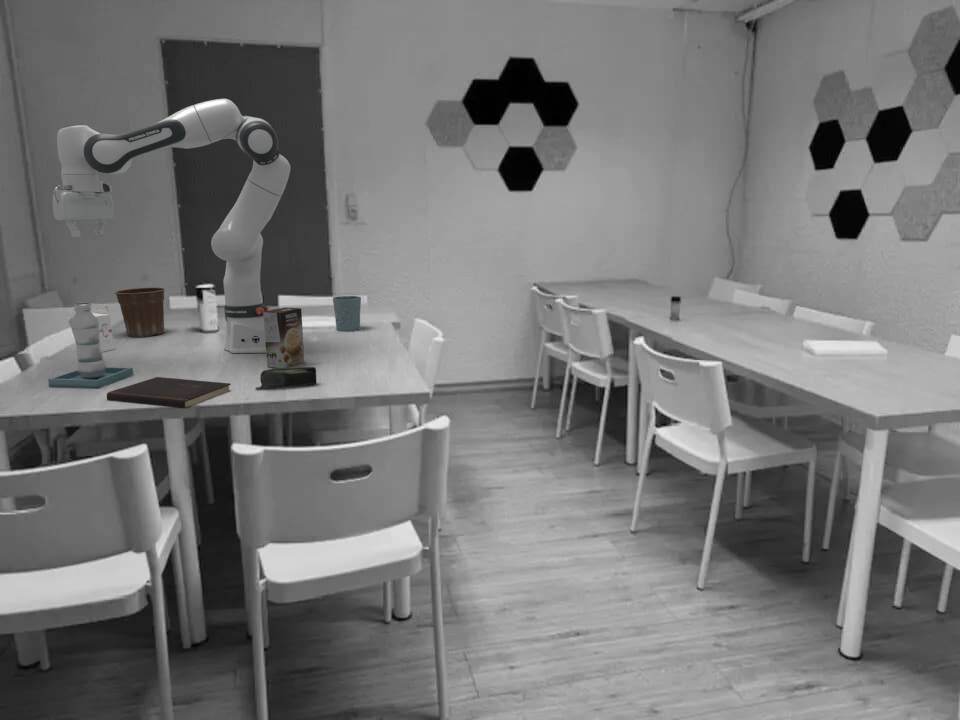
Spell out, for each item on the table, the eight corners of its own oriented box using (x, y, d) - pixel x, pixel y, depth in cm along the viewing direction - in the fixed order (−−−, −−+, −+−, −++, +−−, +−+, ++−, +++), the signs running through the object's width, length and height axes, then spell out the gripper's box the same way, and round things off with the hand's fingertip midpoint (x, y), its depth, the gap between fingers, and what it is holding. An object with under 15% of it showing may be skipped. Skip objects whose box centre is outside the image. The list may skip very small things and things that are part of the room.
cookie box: (283, 369, 191) (279, 312, 187) (266, 367, 193) (261, 311, 190) (305, 362, 199) (301, 308, 195) (288, 360, 201) (284, 306, 198)
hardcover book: (158, 385, 177) (157, 376, 176) (231, 392, 169) (230, 383, 169) (107, 402, 162) (105, 392, 161) (185, 410, 155) (183, 400, 154)
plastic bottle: (95, 381, 176) (84, 305, 172) (72, 380, 178) (61, 305, 173) (113, 375, 182) (102, 301, 178) (91, 374, 184) (80, 301, 179)
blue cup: (330, 331, 247) (328, 298, 244) (340, 326, 257) (338, 295, 254) (357, 332, 245) (355, 299, 243) (366, 327, 255) (364, 295, 252)
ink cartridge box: (83, 350, 219) (76, 305, 216) (97, 347, 224) (91, 303, 220) (101, 352, 216) (95, 306, 212) (115, 349, 220) (109, 304, 217)
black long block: (315, 365, 175) (254, 368, 170) (316, 367, 172) (254, 371, 167) (316, 383, 176) (255, 388, 171) (317, 386, 173) (255, 391, 168)
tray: (133, 374, 186) (132, 367, 185) (98, 388, 172) (97, 380, 172) (87, 373, 188) (86, 366, 187) (49, 386, 174) (47, 379, 174)
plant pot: (117, 340, 236) (111, 293, 232) (123, 332, 250) (117, 288, 247) (168, 336, 241) (163, 291, 238) (171, 329, 256) (166, 286, 253)
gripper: (64, 184, 179) (71, 238, 182) (115, 186, 199) (121, 234, 202) (42, 185, 180) (50, 238, 183) (95, 187, 199) (102, 234, 203)
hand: (88, 236), depth 192 cm, fingers open, 8 cm apart
